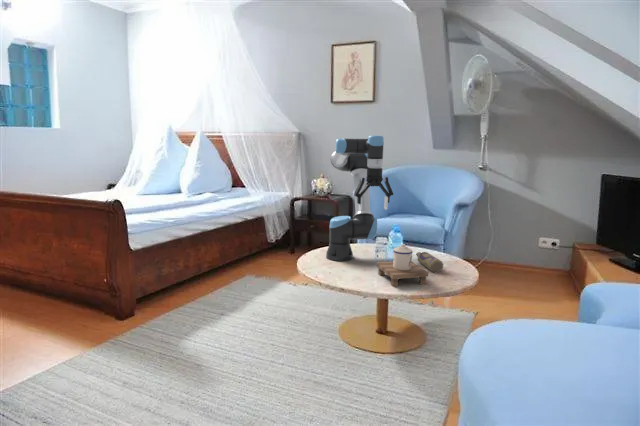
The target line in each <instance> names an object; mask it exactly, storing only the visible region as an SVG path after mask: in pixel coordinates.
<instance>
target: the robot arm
mask: <svg viewBox="0 0 640 426" xmlns="http://www.w3.org/2000/svg"><path fill="white" fill-rule="evenodd" d="M384 139H385V138H384V136H383V135H369V136H368V137H367V138H337V139H335V145H334V148H335V151H334V152H333V153H332V154H331V156H330V163H331V166H333V168H334V169H336V170H339V171H341V172H349V173H350V176H351V177H352V179H353V196H354V206H355V207H354V209H355V214H354V215H353V216H352V217H353V218H352V217H351V216H349V215H340V216H339V215H338V216H333V217H332V218H331V219H330V221H329V228H328V229H329V245H328V248H327V250H326V254H325V257H326V259H327V260H331V261H337V262H339V261H340V262H344V261H350V260H352V259H354V254H353V250H352V249H353V248H352V246H351V240H365V241H366V240H373V239H375V237H376V235H377V231H378V220H377V218H376V217H374V214H373V213H372V211H371V201H370V187H379V188H380V190H381V191H382V192H383V194H384V197H383V199H384V200H383V209H384V210H385V211H386V210H387V211H388V208H389V207H388V205H389V203H390V198H391V196H394V192H393V190H392V188H391V184H390V182H389V177H387V176H384V177H383V168H382V167H384V166H383V163H384V145H385V143H384ZM383 182H384V184H382V183H383ZM384 185H385V186H384ZM385 187H386V188H385Z"/></svg>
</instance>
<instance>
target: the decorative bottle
mask: <svg viewBox="0 0 640 426" xmlns="http://www.w3.org/2000/svg"><path fill="white" fill-rule="evenodd" d="M416 257H417V261H418V262H419V263H420V264H421V265H423V266H424V267H426V268H427V269H428V270H430V271H431V272H432V273H435V272H436V273H440V272H441V271H442V270H443V269H444V263H443V261H442V260H440V259H439V258H437V257H435V256H434V255H432V254H430V252H428V251H423V252H420V251H418V252H416Z"/></svg>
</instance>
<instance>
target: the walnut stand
mask: <svg viewBox="0 0 640 426" xmlns="http://www.w3.org/2000/svg"><path fill="white" fill-rule="evenodd" d="M376 267H377V269H378V273H377V274H378V275H379V276H381V277H382V276H385V274H386V275H387V276H388V277H389V278H390V286H391V287H398V286H399V279H412V278H418V284H419V285H426V282H427V279H426V278H427V277H429V274H430V273H429V272H428V271H427V270H426V269H424V268H422V267H421V266H420V265H418V264H417V263H415V262H413V261H412V265H411V269H410V270H406V271H402V270H396V269H394V268H393V260H391V261H379V262H378V261H377V262H376Z"/></svg>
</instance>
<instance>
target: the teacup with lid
mask: <svg viewBox="0 0 640 426" xmlns="http://www.w3.org/2000/svg"><path fill="white" fill-rule="evenodd" d="M413 252H414V251H413V249H412V248H409V247H408V246H406V244H405V243H402V244H400V246H398V247H395V248H393V260H392V261H393V268H394V269H396V270H402V271H406V270H410V269H411V265H412V262H413Z"/></svg>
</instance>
